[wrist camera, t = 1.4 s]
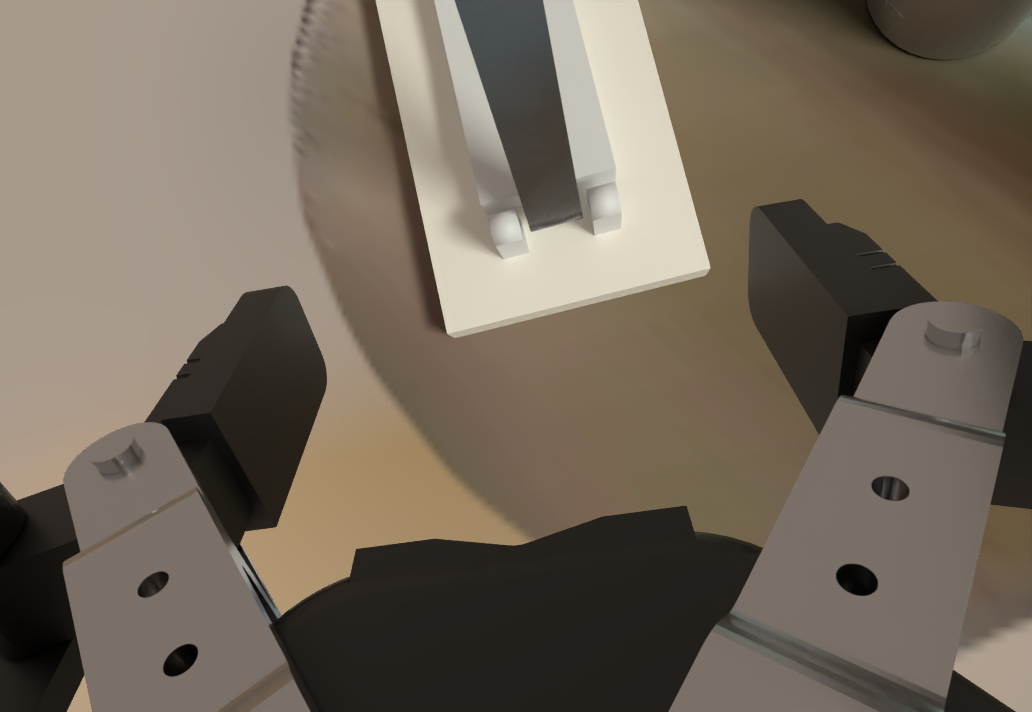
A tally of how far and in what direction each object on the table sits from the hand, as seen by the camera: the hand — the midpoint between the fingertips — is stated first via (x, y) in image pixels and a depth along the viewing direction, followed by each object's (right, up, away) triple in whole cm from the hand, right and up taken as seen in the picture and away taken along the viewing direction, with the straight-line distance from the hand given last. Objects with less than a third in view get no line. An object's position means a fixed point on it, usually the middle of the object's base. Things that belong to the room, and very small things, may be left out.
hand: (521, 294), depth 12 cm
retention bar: (0, +10, +17) cm, 20 cm away
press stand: (+1, +14, +31) cm, 34 cm away
